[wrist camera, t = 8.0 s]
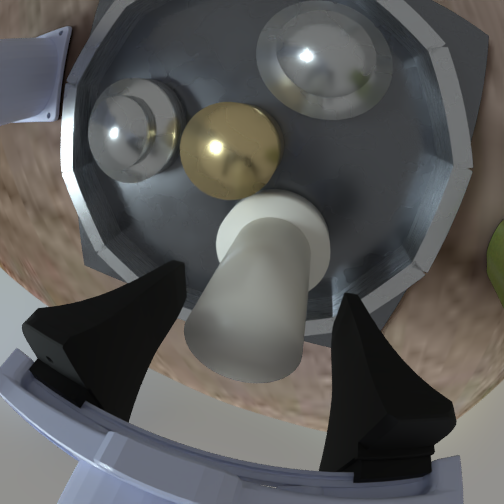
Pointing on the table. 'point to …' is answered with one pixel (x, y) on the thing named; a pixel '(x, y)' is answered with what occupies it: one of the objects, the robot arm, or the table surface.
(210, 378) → the table surface
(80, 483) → the robot arm
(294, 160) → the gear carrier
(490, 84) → the table surface
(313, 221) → the white mushroom peg
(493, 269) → the plant pot
